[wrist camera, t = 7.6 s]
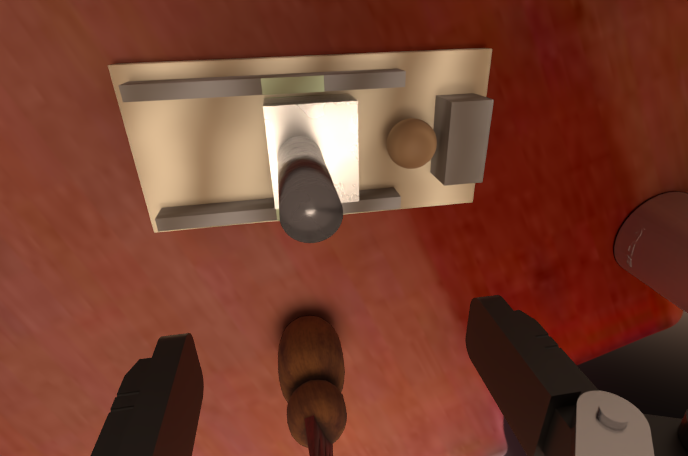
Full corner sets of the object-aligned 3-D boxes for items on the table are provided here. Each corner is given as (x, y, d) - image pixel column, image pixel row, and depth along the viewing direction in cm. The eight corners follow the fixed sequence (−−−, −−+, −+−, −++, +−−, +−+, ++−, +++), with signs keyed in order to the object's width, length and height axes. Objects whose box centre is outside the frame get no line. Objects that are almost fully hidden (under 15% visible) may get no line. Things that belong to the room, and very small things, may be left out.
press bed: (484, 48, 30) (514, 51, 26) (466, 196, 35) (489, 216, 32) (114, 63, 26) (88, 70, 23) (158, 225, 32) (143, 251, 28)
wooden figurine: (274, 307, 37) (277, 462, 24) (336, 301, 38) (370, 448, 25) (279, 361, 40) (284, 524, 27) (336, 354, 41) (367, 510, 28)
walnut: (428, 112, 30) (446, 122, 27) (425, 158, 32) (442, 173, 29) (381, 115, 30) (394, 126, 26) (380, 162, 31) (393, 177, 28)
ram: (349, 93, 28) (396, 134, 18) (351, 186, 31) (392, 268, 21) (263, 98, 27) (258, 144, 17) (274, 193, 31) (276, 281, 20)
